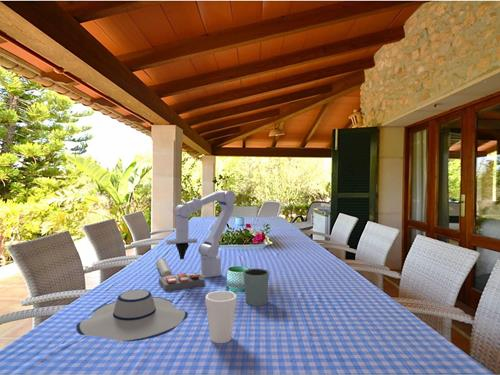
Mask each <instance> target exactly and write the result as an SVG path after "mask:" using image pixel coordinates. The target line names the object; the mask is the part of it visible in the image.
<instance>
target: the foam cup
mask: <svg viewBox="0 0 500 375" xmlns="http://www.w3.org/2000/svg"><path fill="white" fill-rule="evenodd" d="M236 305H237V293H234V292H233V291H228V290H218V291H217V290H215V291H211V292H208V293H207V294H206V295H205V306H206V313H207V322H208V329H209V330H208V331H209V336H210V341H211V342H212V343H215V344H226V343H229V342H230V341H231V340H232V335H233V329H234V320H235V314H236Z"/></svg>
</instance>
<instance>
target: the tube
mask: <svg viewBox="0 0 500 375" xmlns="http://www.w3.org/2000/svg"><path fill="white" fill-rule="evenodd" d="M155 263H156V264H155V265H156V267H157V270H158V271H159V273H160V277H161V278H162V277H165V276H171V275H173V272H172V270H171V268H170V267H169V265H168V263H167V261H166V259H165V258H164V257H163V258H162V257H160V258H158V259H157V260H156V262H155Z"/></svg>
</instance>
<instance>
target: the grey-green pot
mask: <svg viewBox="0 0 500 375" xmlns="http://www.w3.org/2000/svg"><path fill="white" fill-rule="evenodd" d="M269 278H270V271H269V270H267V269H263V268H248V269H246V270H244V271H243V283H244V293H245V296H244V298H245V303H246V305H249V306H253V307H261V306H264V305H267V303H268V297H269V296H268V290H269Z"/></svg>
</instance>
